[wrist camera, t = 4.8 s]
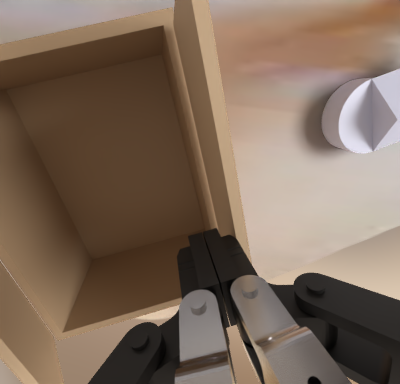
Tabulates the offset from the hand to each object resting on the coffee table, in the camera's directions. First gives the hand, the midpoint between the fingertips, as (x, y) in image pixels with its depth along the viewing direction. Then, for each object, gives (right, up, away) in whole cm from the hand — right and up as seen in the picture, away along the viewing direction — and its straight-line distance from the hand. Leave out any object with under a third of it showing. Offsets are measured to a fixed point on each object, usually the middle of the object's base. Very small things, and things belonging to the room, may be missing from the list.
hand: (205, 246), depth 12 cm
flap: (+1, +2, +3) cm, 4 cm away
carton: (-10, +6, +18) cm, 21 cm away
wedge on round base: (+22, +14, +21) cm, 33 cm away
